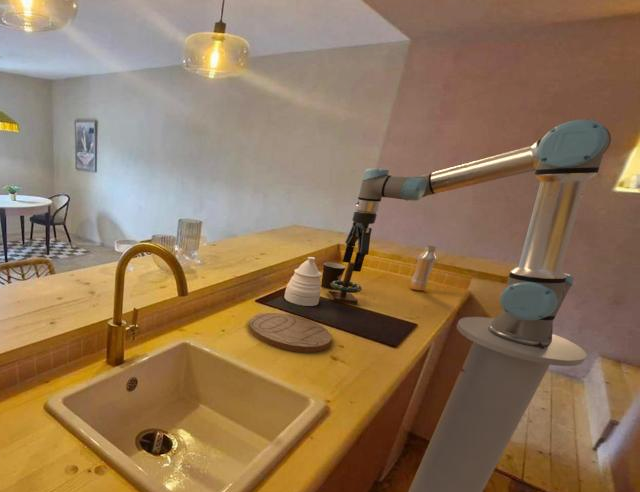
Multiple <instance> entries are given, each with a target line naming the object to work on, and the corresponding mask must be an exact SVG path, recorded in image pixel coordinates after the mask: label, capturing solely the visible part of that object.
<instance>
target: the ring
mask: <svg viewBox="0 0 640 492" xmlns="http://www.w3.org/2000/svg"><path fill="white" fill-rule="evenodd" d="M342 284H343V280H342V279H341V280H338V281H333V282H331V286H332V288H334V289H333V290H336V291H338V292H340V291H342V292H347V293H351V294H357V293H361V291H362V290H363V287H362V286H361V285H360V284H358V283H356V282H353V281H350V284H349V287H344V286H342Z"/></svg>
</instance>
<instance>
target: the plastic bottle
mask: <svg viewBox="0 0 640 492" xmlns="http://www.w3.org/2000/svg"><path fill="white" fill-rule="evenodd" d="M436 250H437V246H434V245H426V246H425V248H424V251H423V252H422V253H420V254H419V256H418V258H417V264H416V268H415V271H414V274H413V276H412V278H411V279H410V281H409V284H408V285H409V288H410V289H412V290H413V291H419V292H420V291H424V290H426V289H427V286H428V280H429V276H430V273H431V271H432V269H433V267H434V266H435V263H436V261H437V256H436V254H435V252H436Z"/></svg>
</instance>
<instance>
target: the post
mask: <svg viewBox="0 0 640 492" xmlns="http://www.w3.org/2000/svg"><path fill="white" fill-rule="evenodd" d="M353 265H354V261H353V262H352V261H350V262H348V263H347V265H346V268H345V273H344V277H343V280H342V281H343V284H342V285H341V286H344V287H349V284H350V282H351V280H352V277H353V274H354V273H353V272H354V271H352V269H353ZM349 288H350V287H349ZM327 295H328V297H329V298H330V300H331V301H332V302H333V303H341V304H350V305H358V302H359V301H358V299H357V298H356V297H355V296H354V295H353V293H348V292H342V291H333V290H328V291H327Z"/></svg>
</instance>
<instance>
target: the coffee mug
mask: <svg viewBox="0 0 640 492" xmlns="http://www.w3.org/2000/svg"><path fill="white" fill-rule="evenodd" d="M345 271H346V266H345V265H343V264H341V263H337V262H324V263H323V267H322V276H321V283H320V285H321V288H324V289H328V290H335V289H334V288H332V286H331V282H333V281H338V280H341V281H342V277H343V275H344V272H345Z"/></svg>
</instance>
